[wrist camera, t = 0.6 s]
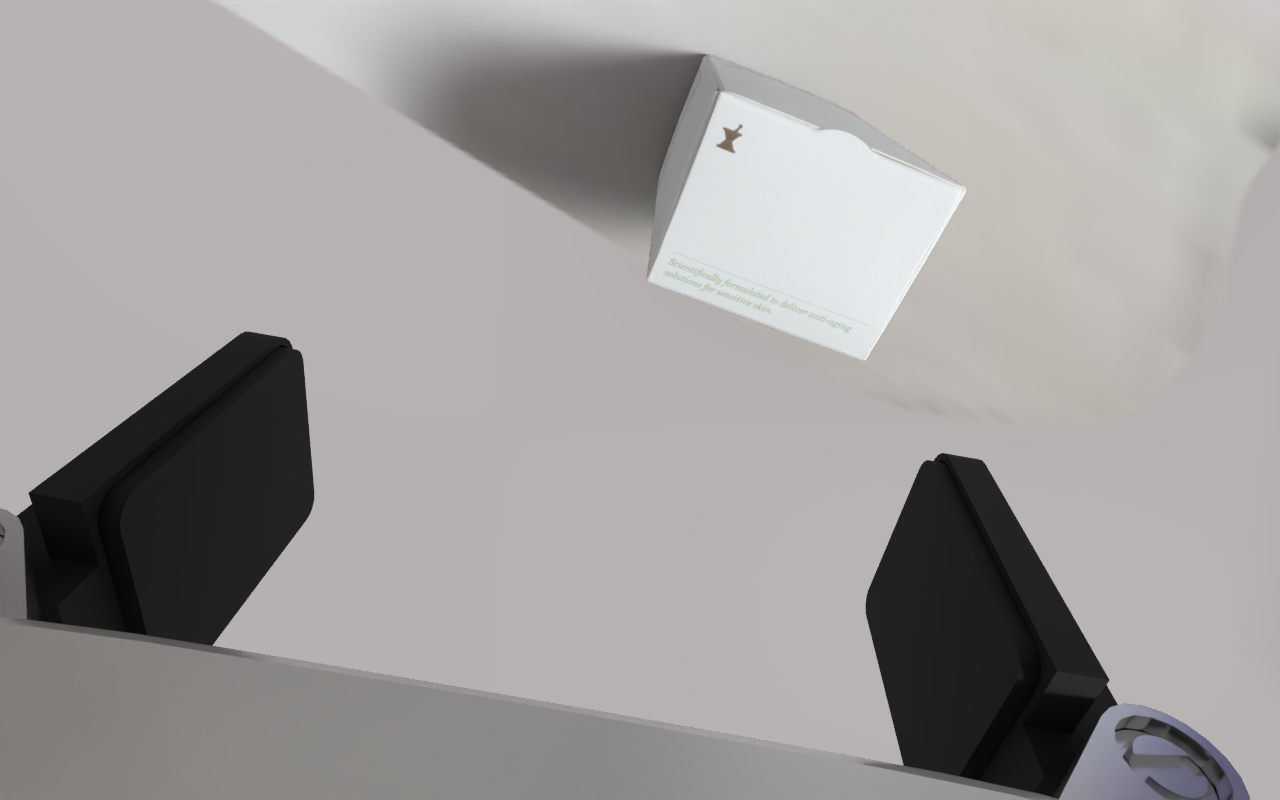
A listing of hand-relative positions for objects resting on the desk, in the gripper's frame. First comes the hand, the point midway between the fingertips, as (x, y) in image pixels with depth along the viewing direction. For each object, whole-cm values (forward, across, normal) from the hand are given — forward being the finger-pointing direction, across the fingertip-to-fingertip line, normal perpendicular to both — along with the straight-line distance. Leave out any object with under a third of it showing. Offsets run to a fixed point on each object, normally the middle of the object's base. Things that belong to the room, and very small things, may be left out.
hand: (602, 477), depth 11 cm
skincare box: (+29, -4, 0) cm, 29 cm away
